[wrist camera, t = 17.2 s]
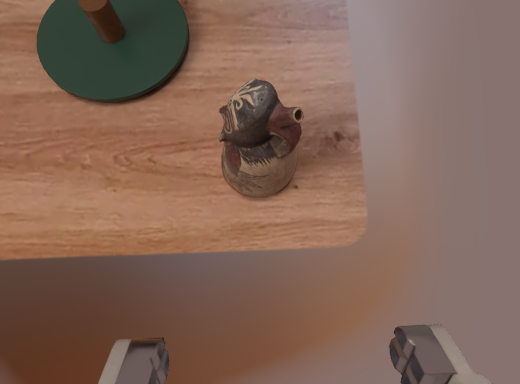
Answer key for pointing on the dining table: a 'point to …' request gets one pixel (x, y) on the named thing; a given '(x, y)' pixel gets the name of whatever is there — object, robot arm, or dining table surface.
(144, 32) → the lid
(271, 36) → the dining table surface
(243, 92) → the figurine
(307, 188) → the dining table surface
